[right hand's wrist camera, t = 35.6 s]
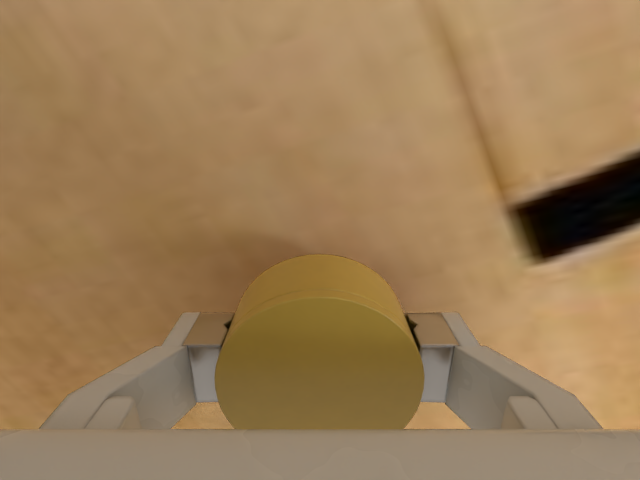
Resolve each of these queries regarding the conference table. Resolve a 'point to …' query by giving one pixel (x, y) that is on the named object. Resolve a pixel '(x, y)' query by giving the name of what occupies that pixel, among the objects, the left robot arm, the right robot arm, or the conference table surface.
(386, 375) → the lid
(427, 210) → the conference table surface
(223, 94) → the conference table surface
